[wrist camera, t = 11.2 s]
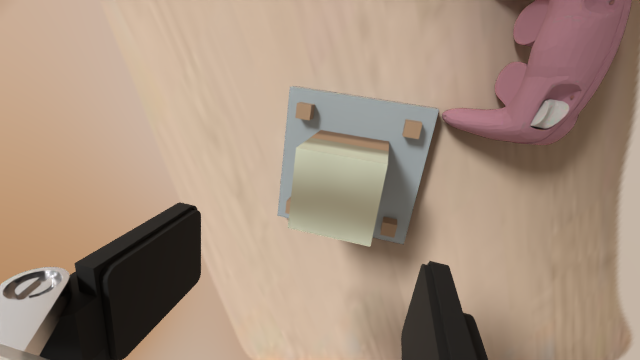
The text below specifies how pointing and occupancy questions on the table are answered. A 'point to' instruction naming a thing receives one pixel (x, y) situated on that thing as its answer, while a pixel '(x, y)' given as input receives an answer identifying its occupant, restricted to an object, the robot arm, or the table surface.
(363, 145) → the block stack
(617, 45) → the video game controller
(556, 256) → the table surface
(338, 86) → the table surface
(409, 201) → the board
